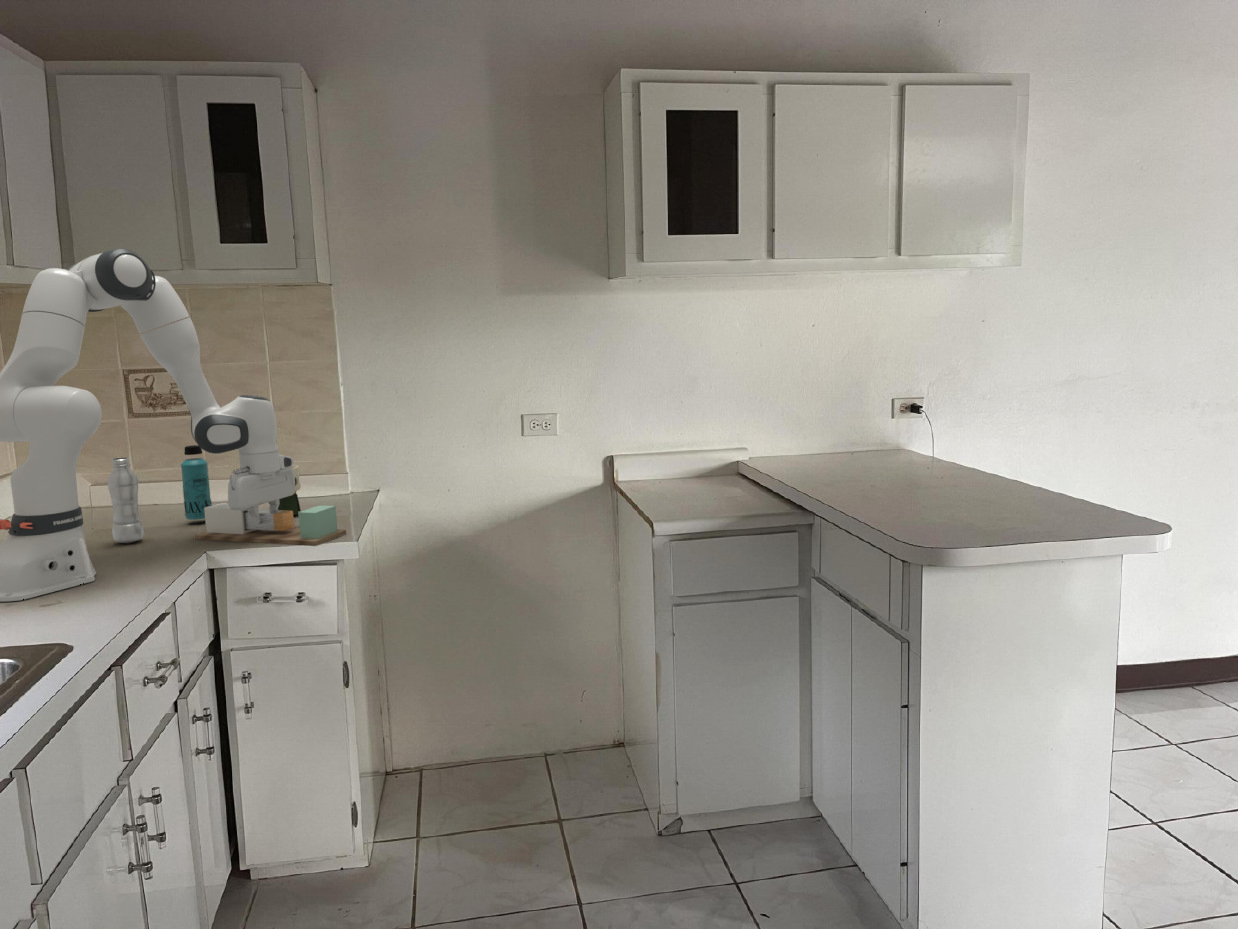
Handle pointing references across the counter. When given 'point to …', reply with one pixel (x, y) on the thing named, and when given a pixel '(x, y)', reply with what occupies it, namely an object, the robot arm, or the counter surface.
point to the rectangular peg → (270, 520)
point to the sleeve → (224, 520)
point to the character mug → (292, 496)
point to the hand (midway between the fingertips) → (264, 521)
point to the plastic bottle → (124, 502)
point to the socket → (317, 522)
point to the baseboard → (270, 537)
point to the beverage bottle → (195, 484)
